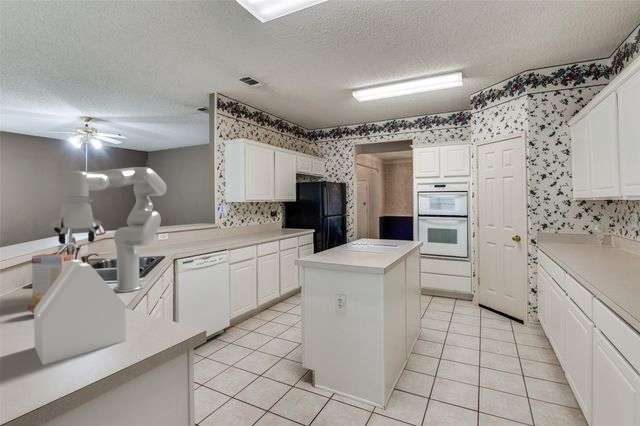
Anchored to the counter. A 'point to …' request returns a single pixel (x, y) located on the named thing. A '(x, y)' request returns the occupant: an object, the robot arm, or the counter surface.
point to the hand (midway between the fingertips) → (77, 242)
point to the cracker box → (47, 271)
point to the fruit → (35, 302)
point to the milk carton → (77, 315)
